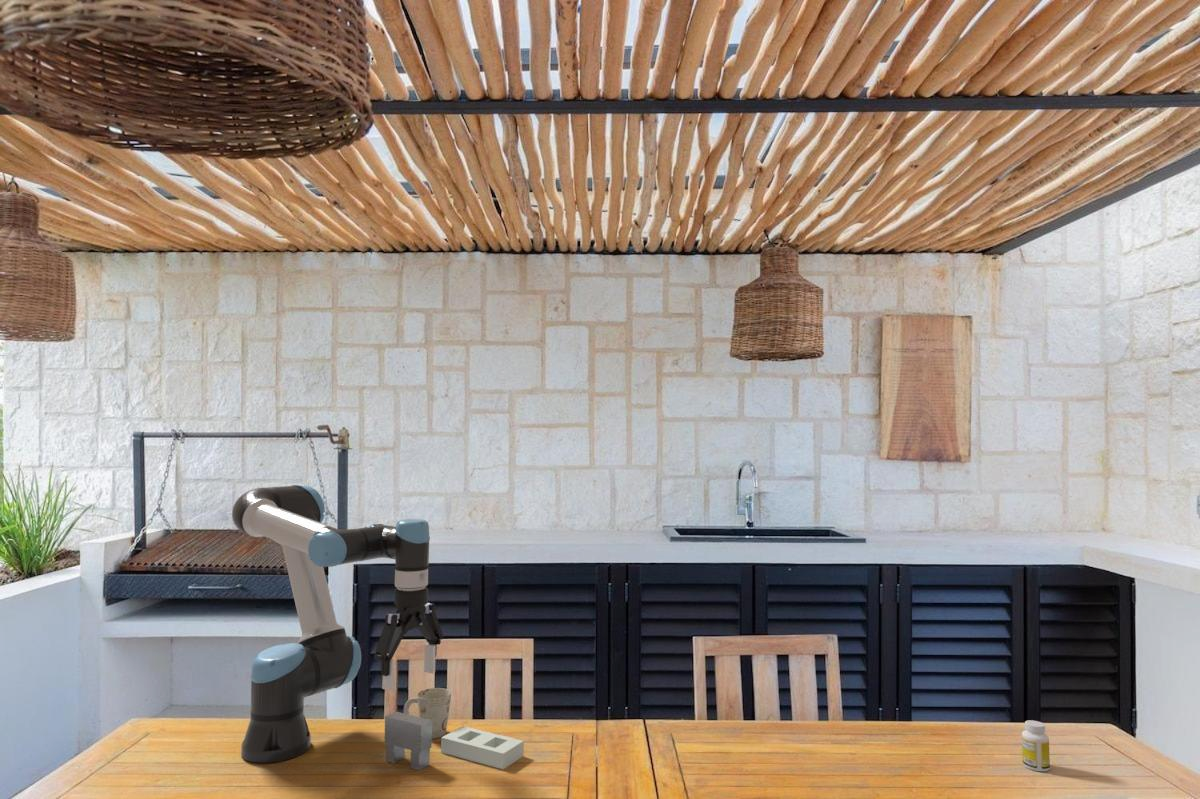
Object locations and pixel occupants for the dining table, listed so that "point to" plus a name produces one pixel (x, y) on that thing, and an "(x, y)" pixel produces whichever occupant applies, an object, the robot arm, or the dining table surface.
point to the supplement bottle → (1035, 746)
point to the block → (482, 747)
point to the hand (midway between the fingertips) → (409, 680)
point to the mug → (433, 708)
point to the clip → (408, 739)
